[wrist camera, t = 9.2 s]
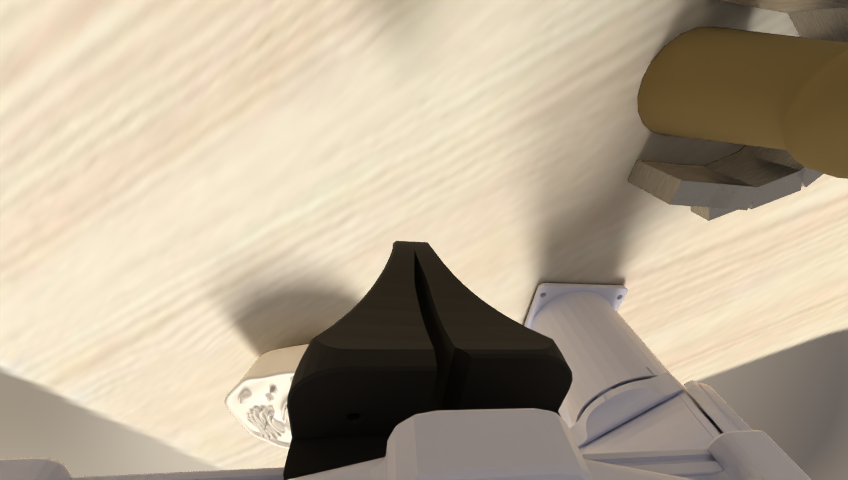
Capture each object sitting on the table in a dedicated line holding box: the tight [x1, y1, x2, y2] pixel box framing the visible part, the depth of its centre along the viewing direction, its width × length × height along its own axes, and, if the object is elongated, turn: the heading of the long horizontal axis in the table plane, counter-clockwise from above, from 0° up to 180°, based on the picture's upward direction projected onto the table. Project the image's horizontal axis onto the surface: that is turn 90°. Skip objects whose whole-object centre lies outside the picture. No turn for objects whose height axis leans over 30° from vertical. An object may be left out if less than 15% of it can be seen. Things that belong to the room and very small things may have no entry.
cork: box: [638, 27, 848, 178], centre depth 15 cm, size 6×6×11 cm
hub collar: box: [628, 0, 848, 221], centre depth 19 cm, size 16×12×4 cm
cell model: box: [225, 344, 309, 449], centre depth 27 cm, size 10×12×7 cm
